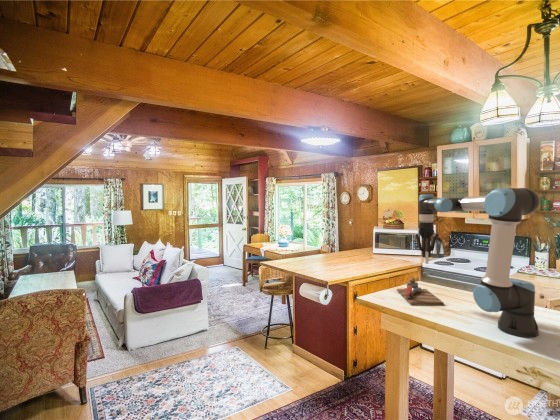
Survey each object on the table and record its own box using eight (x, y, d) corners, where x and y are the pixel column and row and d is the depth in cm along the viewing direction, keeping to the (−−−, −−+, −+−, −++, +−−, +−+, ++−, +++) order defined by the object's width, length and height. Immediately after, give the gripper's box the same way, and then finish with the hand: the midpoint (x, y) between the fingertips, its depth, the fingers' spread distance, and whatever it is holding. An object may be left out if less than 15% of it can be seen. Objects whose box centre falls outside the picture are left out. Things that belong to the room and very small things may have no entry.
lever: (412, 299, 187) (412, 288, 187) (402, 297, 191) (402, 286, 190) (422, 291, 203) (422, 280, 202) (413, 289, 206) (413, 279, 206)
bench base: (443, 305, 183) (444, 288, 182) (410, 305, 184) (410, 288, 183) (425, 291, 209) (426, 276, 208) (396, 291, 210) (397, 276, 209)
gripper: (435, 221, 190) (435, 261, 191) (412, 221, 190) (412, 261, 191) (440, 222, 182) (440, 264, 183) (416, 222, 183) (416, 264, 184)
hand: (426, 263), depth 187 cm, fingers closed
